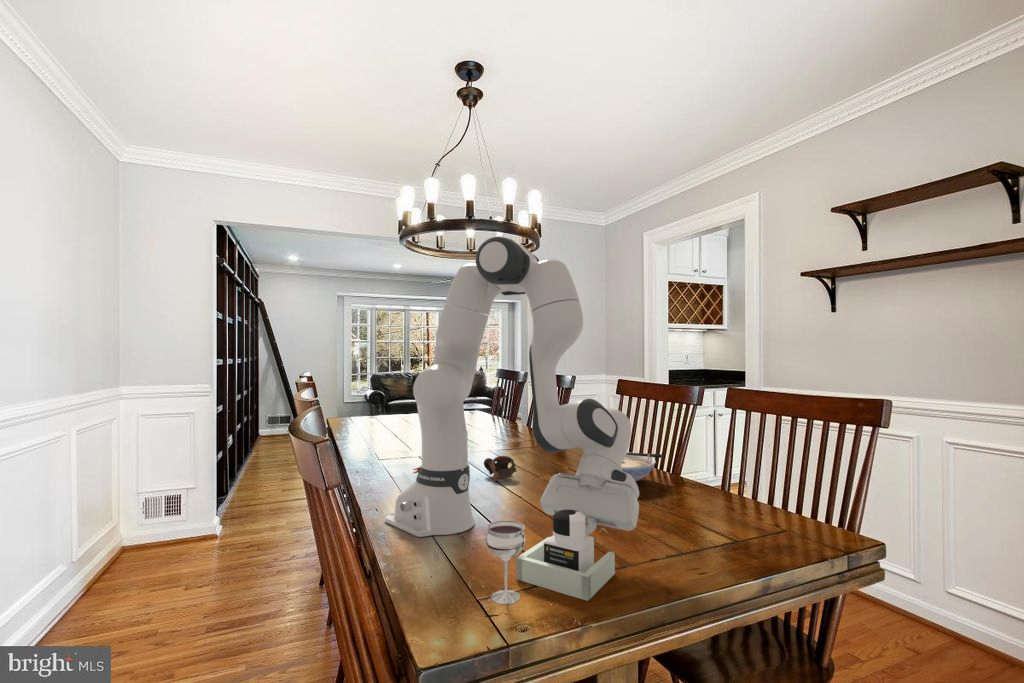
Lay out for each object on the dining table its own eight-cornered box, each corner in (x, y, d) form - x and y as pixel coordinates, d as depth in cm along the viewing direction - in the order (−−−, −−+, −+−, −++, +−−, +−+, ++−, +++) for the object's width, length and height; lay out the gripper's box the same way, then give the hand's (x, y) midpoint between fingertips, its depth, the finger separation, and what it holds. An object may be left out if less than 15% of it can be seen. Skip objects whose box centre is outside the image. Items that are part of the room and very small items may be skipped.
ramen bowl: (570, 487, 153) (570, 460, 153) (588, 470, 174) (588, 446, 174) (654, 496, 143) (654, 468, 143) (663, 477, 164) (663, 452, 164)
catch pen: (516, 579, 93) (516, 557, 93) (548, 556, 103) (548, 536, 103) (587, 601, 85) (587, 577, 85) (614, 574, 95) (614, 552, 95)
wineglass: (517, 610, 82) (517, 536, 82) (479, 602, 84) (479, 531, 84) (531, 591, 88) (530, 523, 88) (495, 584, 90) (495, 518, 91)
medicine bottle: (543, 579, 92) (543, 514, 92) (560, 565, 98) (560, 504, 98) (578, 589, 88) (578, 521, 89) (594, 574, 94) (594, 510, 95)
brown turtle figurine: (520, 476, 167) (521, 458, 163) (507, 496, 160) (508, 477, 155) (489, 464, 171) (489, 446, 167) (475, 482, 164) (475, 464, 160)
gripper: (548, 463, 109) (525, 522, 101) (639, 477, 98) (622, 543, 90) (558, 479, 113) (536, 537, 105) (647, 494, 102) (630, 559, 94)
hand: (576, 540), depth 97 cm, fingers closed, pressing on medicine bottle
